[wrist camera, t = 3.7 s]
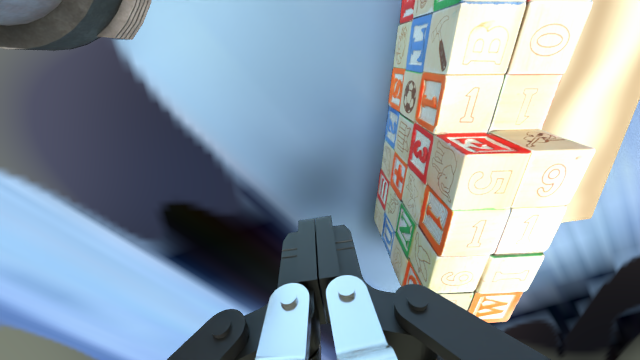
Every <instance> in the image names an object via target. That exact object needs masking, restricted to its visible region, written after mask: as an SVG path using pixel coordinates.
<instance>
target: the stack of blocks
mask: <svg viewBox="0 0 640 360" xmlns="http://www.w3.org/2000/svg"><path fill="white" fill-rule="evenodd" d="M592 4H593V1H592V0H402V7H401V16H400V25H399V26H398V31H397V39H396V47H395V55H394V64H393V65H394V67H393V71H392V78H391V86H390V94H389V102H388V104H389V109H388V117H387V125H386V133H385V143H384V150H383V159H382V168H381V170H380V176H379V184H378V192H377V198H376V206H375V214H374V221H375V223H376V225H377V228H378V230H379V233H380V235H381V237H382V239H383V242H384V244H385V246H386V249H387V251H388V254H389V257H390V259H391V263H392V265H393V268H394V271H395V273H396V276H397V278H398V280H399V283H400V285H401V287H402V286H404V285H408V284H418V285H422V286H425V287H427V288H429V289H431V290H432V291H434V292H436V293H438V294H439V295H441V296H443V297H444V298H446V299H448V300H450V301H451V302H453V303H455V304H456V305H458V306H460V307H462V308H463V309H465V310H467V311H468V312H470V313H472V314H474V315H475V316H477V317H479V318H480V319H482V320H484V321H485V322H487V323H491V322H506V321H508V320H509V318H510V316H511V314H512V312H513V310H514V308H515V306H516V304H517V303H518V301H519V299H520V297H521V295H522V293H523V291H527V290H528V288H529V286H530V284H531V282H532V281H533V279H534V277H535V275H536V273H537V271H538V269H539V267H540V265H541V263H542V261H543V259H544V254H543V252H544V251H546V250H547V249H548V248H549V246H550V244H551V242H552V240H553V237H554V235H555V233H556V232H557V230H558V227H559V225H560V223H561V221H562V219H563V217H564V215H565V213H566V211H567V204H569V203H570V201H571V199H572V197H573V195H574V193H575V192H576V190H577V188H578V186H579V184H580V181H581V179H582V177H583V175H584V173H585V171H586V169H587V167H588V165H589V163H590V161H591V159H592V158H593V156H594V154H595V148H592V147H589V146H586V145H583V144H580V143H577V142H574V141H572V140H569V139H566V138H563V137H560V136H557V135H554V134H551V133H548V132H546V131H543V130H542V127H543V125H544V122H545V120H546V117H547V115H548V112H549V109H550V107H551V104H552V102H553V99H554V96H555V94H556V91H557V89H558V86H559V84H560V81H561V78H562V75H563V74H564V73H565V72H566V70H567V67H568V65H569V62H570V60H571V57H572V55H573V52H574V50H575V47H576V45H577V42H578V40H579V37H580V35H581V33H582V30H583V28H584V25H585V23H586V20H587V18H588V15H589V13H590V10H591V8H592Z"/></svg>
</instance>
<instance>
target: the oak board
mask: <svg viewBox="0 0 640 360" xmlns="http://www.w3.org/2000/svg"><path fill="white" fill-rule="evenodd" d="M592 1H593V4H592V8H591V10H590V13H589V15H588V18H587V20H586V23H585V25H584V28H583V30H582V33H581V35H580V37H579V40H578V42H577V45H576V47H575V50H574V52H573V55H572V57H571V60H570V62H569V65H568V67H567V70H566V72H565V73H564V74H563V75H562V78H561V81H560V84H559V86H558V89H557V91H556V94H555V96H554V99H553V102H552V104H551V107H550V109H549V112H548V115H547V117H546V120H545V122H544V125H543V127H542V130H543V131H546V132H548V133H551V134H554V135H557V136H560V137H563V138H566V139H569V140H572V141H574V142H577V143H580V144H583V145H586V146H589V147H592V148H595V154H594V156H593V158H592V159H591V161H590V163H589V165H588V167H587V169H586V171H585V173H584V175H583V177H582V179H581V181H580V184H579V186H578V188H577V190H576V192H575V193H574V195H573V197H572V199H571V201H570V203H569V204H567V211H566V213H565V215H564V217H563V219H562V221H561V223H562V222H569V221H576V220H583V219H590V218H591V217H592V215H593V212H594V210H595V207H596V205H597V202H598V200H599V197H600V195H601V193H602V190H603V188H604V185H605V183H606V180H607V178H608V175H609V173H610V170H611V168H612V165H613V163H614V161H615V158H616V156H617V153H618V151H619V148H620V146H621V143H622V141H623V138H624V136H625V133H626V131H627V129H628V126H629V124H630V121H631V119H632V116H633V114H634V111H635V109H636V106H637V104H638V101H639V99H640V0H592Z"/></svg>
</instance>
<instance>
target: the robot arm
mask: <svg viewBox="0 0 640 360" xmlns="http://www.w3.org/2000/svg"><path fill="white" fill-rule="evenodd" d="M325 310H326V313H325ZM326 315H327V320H328V323H331V327H332V332H333V338H334V344H335V349H336V355H337V360H551V359H549V358H547V357H545V356H544V355H542V354H540V353H539V352H537V351H535V350H533V349H532V348H530V347H528V346H527V345H525V344H523V343H521V342H520V341H518V340H516V339H514V338H513V337H511V336H509V335H508V334H506V333H504V332H503V331H501V330H499V329H497V328H496V327H494V326H492V325H491V324H489V323H487V322H485V321H484V320H482V319H480V318H479V317H477V316H475V315H474V314H472V313H470V312H468V311H467V310H465V309H463V308H462V307H460V306H458V305H456V304H455V303H453V302H451V301H450V300H448V299H446V298H444V297H443V296H441V295H439V294H438V293H436V292H434V291H432V290H431V289H429V288H427V287H425V286H422V285H418V284H408V285H404V286H402V287H400V288H399V289H398V290H397V291H396V293H391V292H384V291H379V290H376V289H374V288H372V287H371V286H369V285H368V284H367V283H366V282H365V281H364V279H363V277H362V275H361V271H360V267H359V263H358V259H357V255H356V251H355V248H354V243H353V240H352V236H351V232H350V230H349V229H348V228H347V227H346V226H345V225H340V226H332V220H331V216H325V217H319V218H316V223H315V219H314V218H312V219H306V220H299V223H298V232H293V233H289V234H288V235H287V237H286V238H285V240H284V241H283V248H282V256H281V264H280V272H279V280H278V288H277V290H275V291H274V292H273V294H272V295H271V297H270V299H269V303H268V304H267V305H265V306H264V307H262V308H260V309H258V310H256V311H254V312H252V313H250V314H247V315H245V316H244V315H243V314H242V313H241V312H240V311H238V310H235V309H228V310H224V311H221V312H219V313H217V314H216V315H214V316H213V317H212V318H211V319H210V320H208V321H207V322H206V323H205V324H204V325H203V326H202V327H201V328H200V329H199V330H198V331H197V332H196V333H195V334H194V335H193V336H191V337H190V338H189V339H188V340H187V341H186V342H185V343H184V344H183V345H182V346H181V347H180V348H179V349H178V350H177V351H175V352H174V353H173V354H172V355H171V356H170V357H169V358H168V359H167V360H321V343H320V341H321V333H320V324H326Z"/></svg>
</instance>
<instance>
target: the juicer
mask: <svg viewBox="0 0 640 360" xmlns="http://www.w3.org/2000/svg"><path fill="white" fill-rule="evenodd" d="M150 4H151V0H0V48H3V49H24V50H25V49H26V50H65V49H74V48H78V47H81V46H84V45H88V44H90V43H91V42H93V41H95V40H97V39H99V38H101V37H108V38H119V39H131V40H132V39H133V38H134V36H135V35H136V33H137V32H138V30H139V29H140V27H141V26H142V24H143V22H144V19H145V17H146V14H147V12H148V9H149V7H150Z"/></svg>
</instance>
